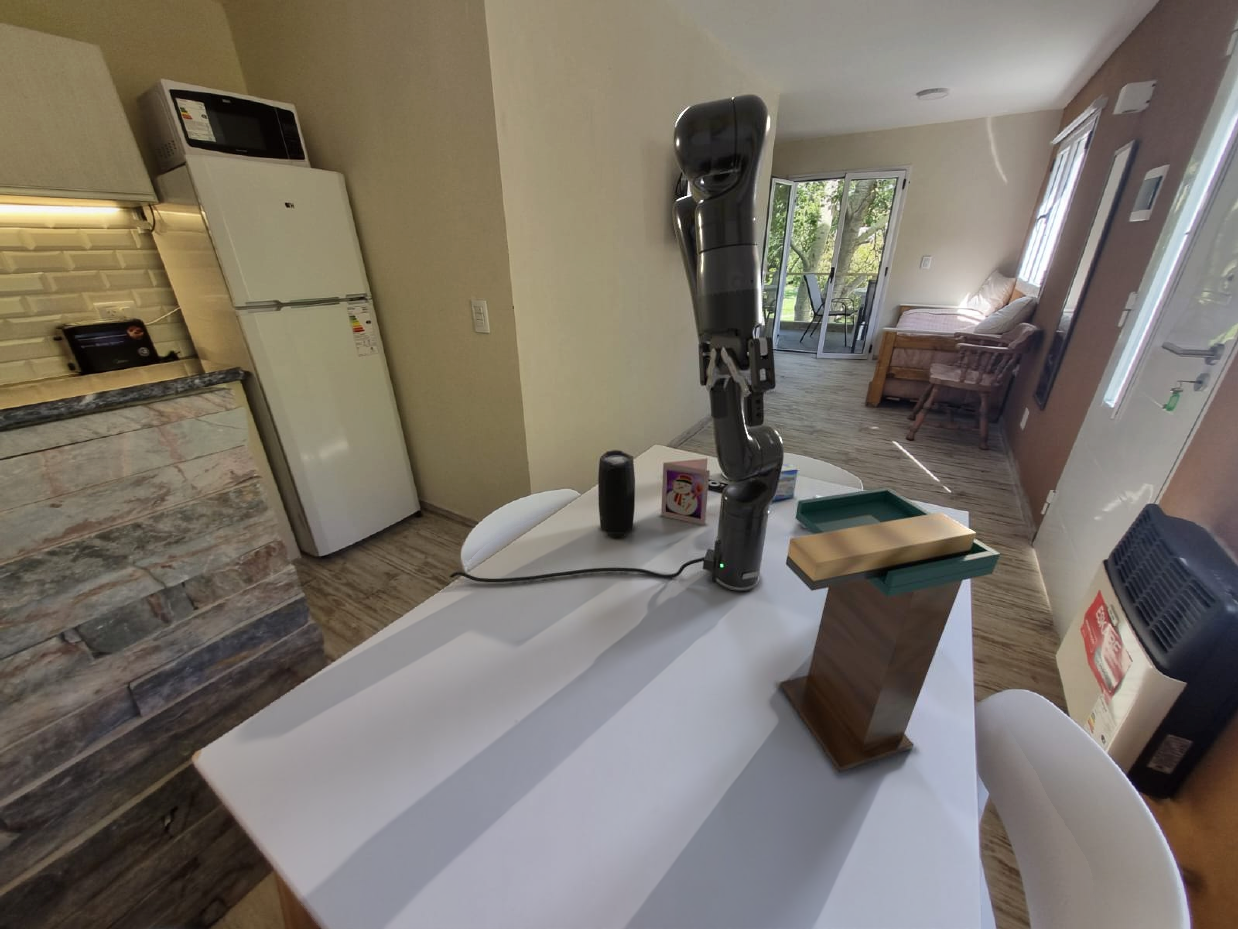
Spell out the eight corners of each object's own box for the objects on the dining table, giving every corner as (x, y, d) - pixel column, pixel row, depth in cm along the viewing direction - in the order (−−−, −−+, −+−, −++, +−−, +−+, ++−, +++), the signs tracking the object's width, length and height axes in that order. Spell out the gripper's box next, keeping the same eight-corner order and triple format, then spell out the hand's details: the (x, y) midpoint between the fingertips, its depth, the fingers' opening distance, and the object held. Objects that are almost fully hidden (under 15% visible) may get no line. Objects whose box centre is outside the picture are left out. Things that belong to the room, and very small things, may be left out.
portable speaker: (601, 541, 112) (599, 466, 104) (597, 520, 121) (595, 449, 112) (637, 538, 113) (638, 463, 105) (631, 518, 122) (631, 447, 113)
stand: (838, 772, 63) (895, 587, 50) (779, 686, 76) (812, 520, 63) (912, 749, 66) (983, 568, 53) (843, 670, 79) (888, 507, 66)
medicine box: (768, 501, 129) (772, 472, 126) (759, 494, 133) (763, 466, 130) (793, 497, 131) (798, 469, 128) (784, 490, 135) (789, 462, 132)
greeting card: (660, 517, 122) (662, 464, 116) (668, 503, 128) (671, 452, 122) (703, 526, 118) (708, 472, 112) (710, 512, 124) (715, 459, 118)
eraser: (811, 591, 48) (817, 563, 47) (785, 564, 52) (790, 538, 51) (967, 559, 53) (977, 533, 52) (932, 536, 57) (940, 511, 56)
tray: (887, 597, 49) (893, 575, 48) (795, 518, 63) (798, 500, 62) (992, 574, 52) (1000, 553, 51) (882, 504, 66) (887, 486, 65)
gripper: (792, 279, 53) (795, 424, 57) (726, 295, 66) (732, 411, 70) (732, 285, 51) (739, 434, 55) (676, 300, 64) (686, 419, 68)
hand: (735, 421), depth 62 cm, fingers open, 8 cm apart
